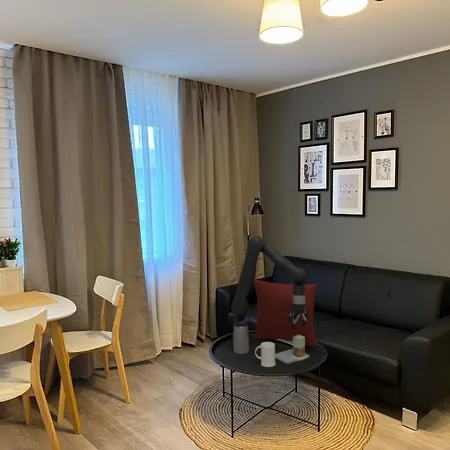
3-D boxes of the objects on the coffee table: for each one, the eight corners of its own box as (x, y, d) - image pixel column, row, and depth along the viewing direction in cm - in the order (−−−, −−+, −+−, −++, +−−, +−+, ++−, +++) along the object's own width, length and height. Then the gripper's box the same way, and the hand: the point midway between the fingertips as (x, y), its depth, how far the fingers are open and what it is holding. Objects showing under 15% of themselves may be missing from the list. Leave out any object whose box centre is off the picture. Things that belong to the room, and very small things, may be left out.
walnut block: (293, 355, 265) (292, 346, 264) (299, 353, 267) (299, 344, 267) (298, 358, 260) (298, 348, 260) (304, 356, 263) (304, 346, 263)
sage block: (292, 346, 264) (292, 336, 264) (299, 344, 267) (299, 334, 266) (298, 348, 260) (298, 338, 259) (304, 346, 263) (304, 336, 262)
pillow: (320, 343, 287) (320, 281, 283) (314, 351, 274) (314, 286, 270) (258, 335, 305) (257, 276, 302) (250, 342, 292) (249, 281, 288)
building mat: (271, 356, 267) (271, 354, 266) (293, 349, 276) (293, 348, 276) (287, 364, 255) (287, 362, 254) (310, 357, 264) (310, 355, 264)
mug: (253, 365, 254) (253, 345, 253) (257, 360, 262) (256, 340, 261) (274, 367, 250) (273, 347, 249) (276, 361, 258) (276, 342, 257)
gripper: (303, 298, 268) (302, 324, 270) (285, 302, 260) (285, 328, 262) (312, 301, 262) (311, 327, 263) (294, 305, 254) (294, 332, 255)
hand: (298, 328), depth 263 cm, fingers open, 8 cm apart
